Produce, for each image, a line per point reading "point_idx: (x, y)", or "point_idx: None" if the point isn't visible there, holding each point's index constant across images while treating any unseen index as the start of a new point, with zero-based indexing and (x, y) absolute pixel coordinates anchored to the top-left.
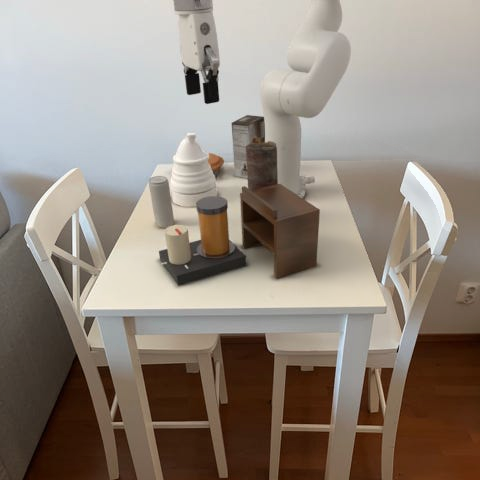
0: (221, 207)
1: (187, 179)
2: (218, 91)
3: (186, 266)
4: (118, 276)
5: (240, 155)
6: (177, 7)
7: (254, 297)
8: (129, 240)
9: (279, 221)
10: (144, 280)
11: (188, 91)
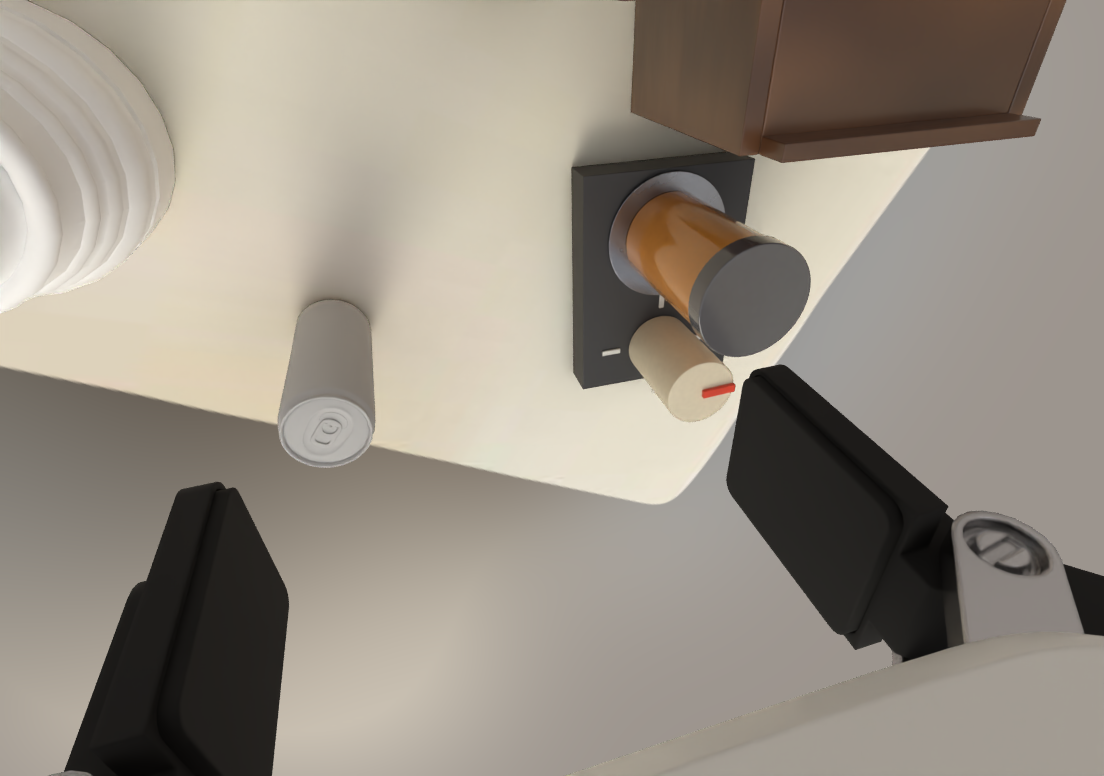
0: (810, 280)
1: (108, 233)
2: (846, 420)
3: None
4: (591, 463)
5: None
6: None
7: (861, 192)
8: (413, 438)
9: (1019, 112)
10: (640, 414)
11: (286, 627)
